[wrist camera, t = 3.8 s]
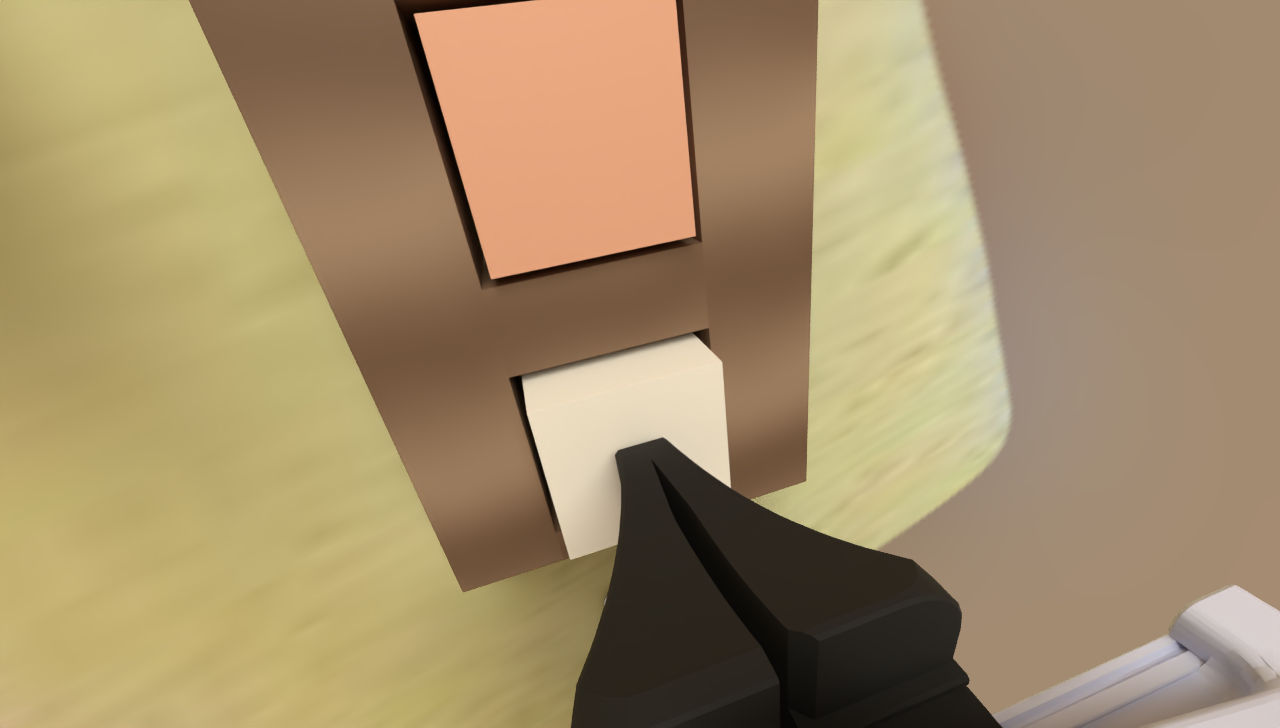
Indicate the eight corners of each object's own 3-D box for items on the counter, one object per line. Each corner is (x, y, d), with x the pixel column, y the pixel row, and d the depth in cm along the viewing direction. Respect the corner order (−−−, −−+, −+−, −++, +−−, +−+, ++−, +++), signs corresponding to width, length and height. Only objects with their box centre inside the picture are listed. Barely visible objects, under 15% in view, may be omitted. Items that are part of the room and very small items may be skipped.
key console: (752, 422, 21) (806, 481, 17) (467, 506, 19) (463, 592, 15) (734, -53, 13) (821, -119, 10) (259, -7, 11) (156, -70, 8)
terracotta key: (664, 219, 14) (695, 236, 12) (490, 255, 13) (491, 279, 11) (640, 12, 12) (674, -15, 10) (428, 37, 11) (413, 13, 9)
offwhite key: (700, 459, 17) (732, 507, 15) (558, 501, 16) (570, 560, 14) (687, 327, 15) (722, 361, 12) (520, 368, 14) (527, 413, 11)
